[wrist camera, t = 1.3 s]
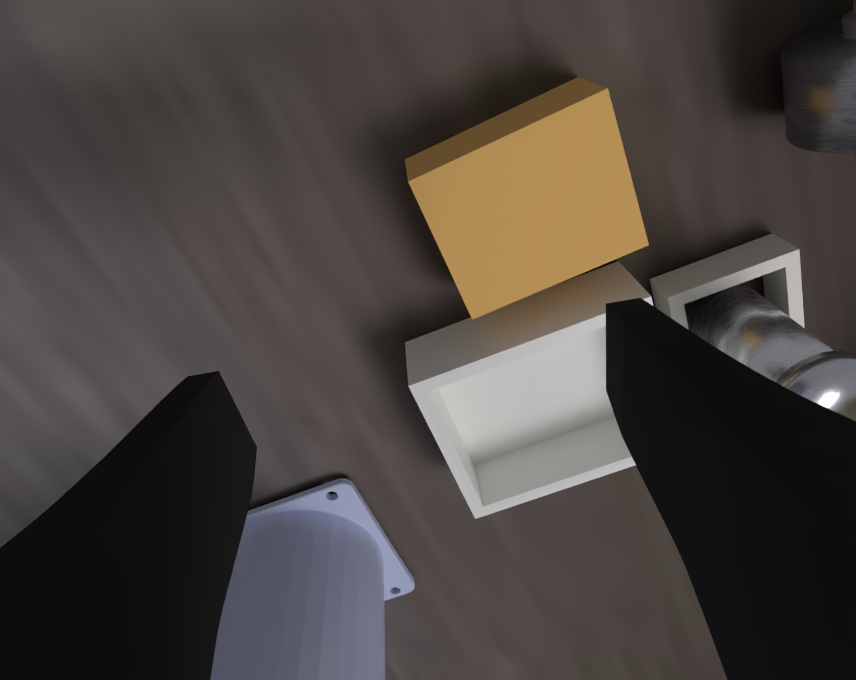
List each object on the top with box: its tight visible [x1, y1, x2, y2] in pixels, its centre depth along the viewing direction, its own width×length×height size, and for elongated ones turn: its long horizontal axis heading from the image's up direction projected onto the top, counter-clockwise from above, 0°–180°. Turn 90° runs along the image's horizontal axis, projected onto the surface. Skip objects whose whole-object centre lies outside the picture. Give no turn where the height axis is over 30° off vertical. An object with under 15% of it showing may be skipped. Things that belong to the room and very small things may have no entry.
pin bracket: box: [650, 234, 804, 330], centre depth 22 cm, size 5×5×2 cm
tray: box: [405, 261, 653, 519], centre depth 22 cm, size 8×7×3 cm
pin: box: [685, 282, 856, 421], centre depth 20 cm, size 3×3×7 cm
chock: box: [405, 77, 649, 320], centre depth 19 cm, size 6×5×3 cm
